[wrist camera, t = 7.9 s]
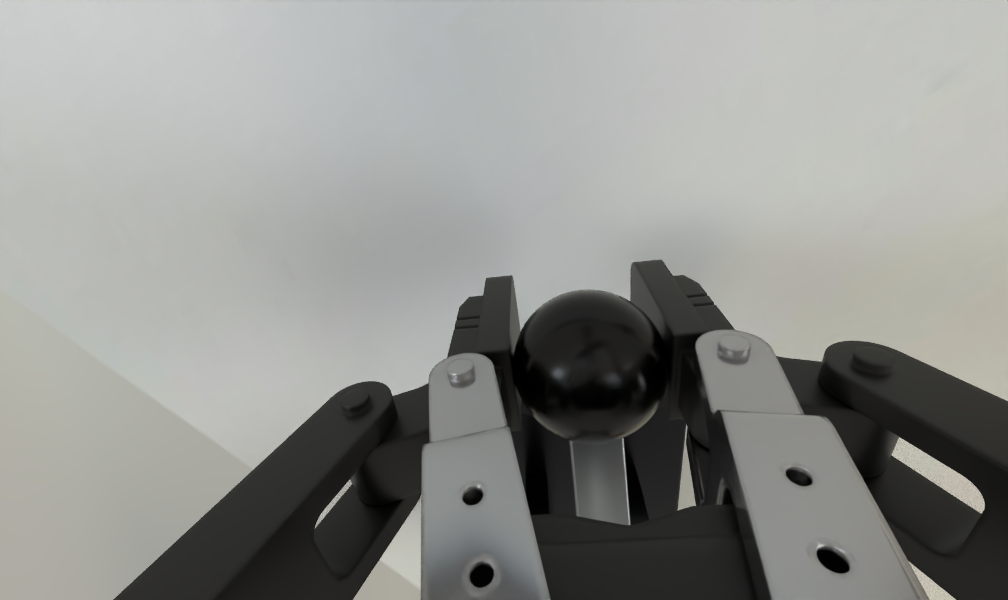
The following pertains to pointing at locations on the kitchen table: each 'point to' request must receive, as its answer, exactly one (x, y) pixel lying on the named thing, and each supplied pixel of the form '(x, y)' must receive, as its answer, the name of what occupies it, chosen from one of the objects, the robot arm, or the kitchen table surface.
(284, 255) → the kitchen table surface
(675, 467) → the bracket
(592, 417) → the lever
